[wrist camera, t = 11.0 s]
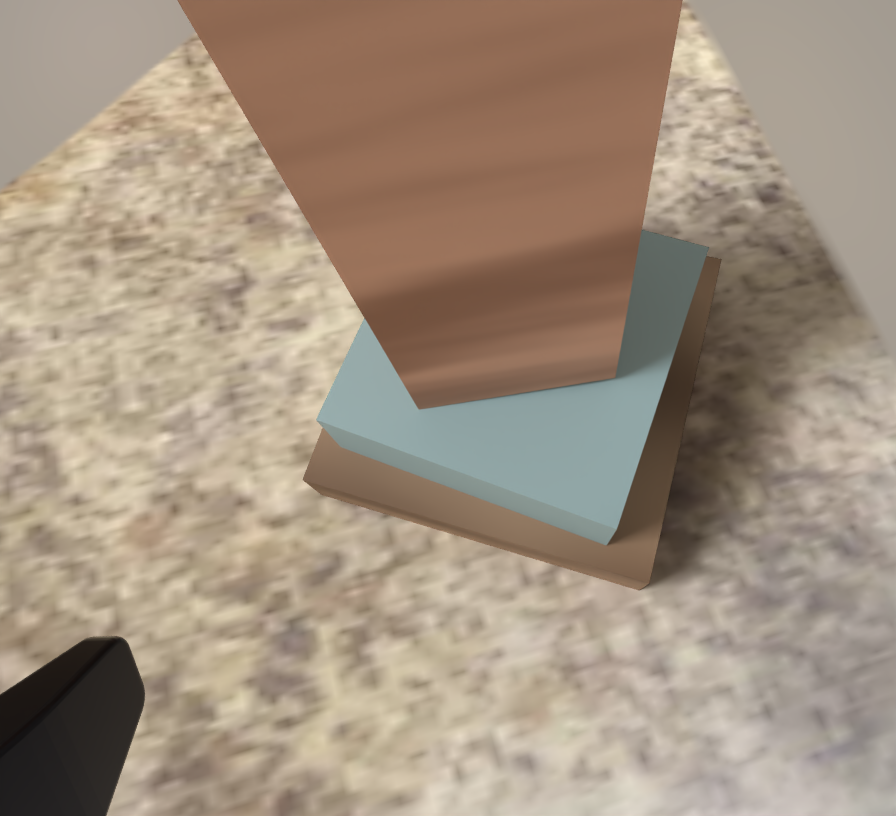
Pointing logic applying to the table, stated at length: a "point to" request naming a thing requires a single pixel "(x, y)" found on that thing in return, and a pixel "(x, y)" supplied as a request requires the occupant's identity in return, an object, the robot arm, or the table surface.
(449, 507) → the tower base slab
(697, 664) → the table surface
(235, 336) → the table surface
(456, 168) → the terracotta block
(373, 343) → the tower top block
